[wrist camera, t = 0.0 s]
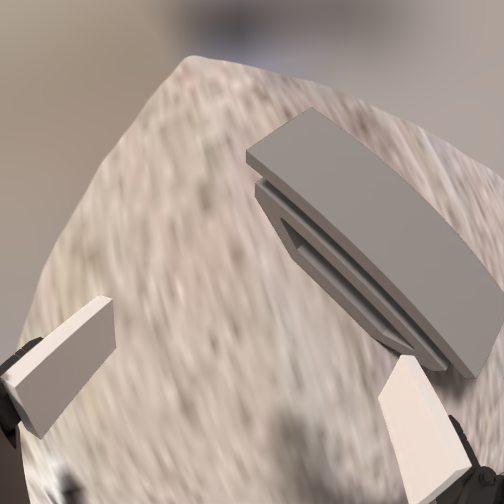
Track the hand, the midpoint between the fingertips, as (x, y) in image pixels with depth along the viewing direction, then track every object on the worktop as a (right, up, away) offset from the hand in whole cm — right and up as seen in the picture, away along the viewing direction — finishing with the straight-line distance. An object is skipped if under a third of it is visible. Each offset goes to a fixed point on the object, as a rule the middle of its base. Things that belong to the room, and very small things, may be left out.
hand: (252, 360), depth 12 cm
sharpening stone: (+11, +2, +18) cm, 21 cm away
